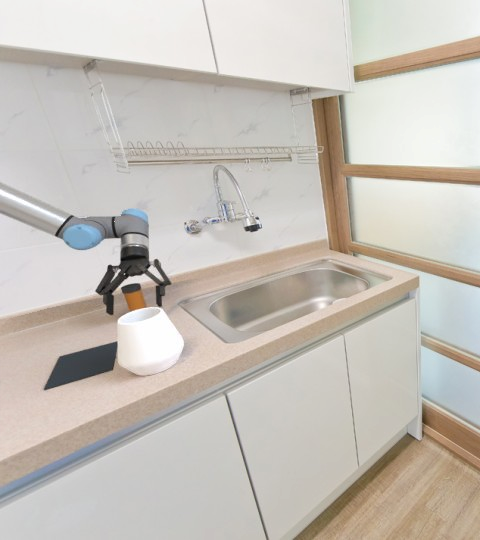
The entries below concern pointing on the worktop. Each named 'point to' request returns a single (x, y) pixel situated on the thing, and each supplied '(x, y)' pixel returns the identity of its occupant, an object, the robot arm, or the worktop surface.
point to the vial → (134, 296)
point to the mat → (82, 365)
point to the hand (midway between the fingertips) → (135, 309)
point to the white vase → (148, 341)
